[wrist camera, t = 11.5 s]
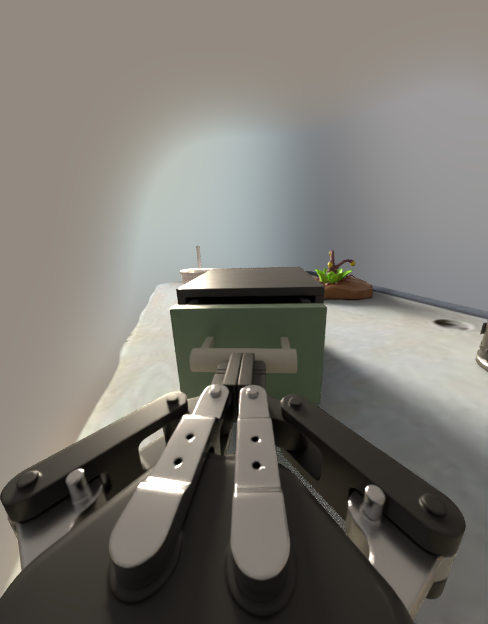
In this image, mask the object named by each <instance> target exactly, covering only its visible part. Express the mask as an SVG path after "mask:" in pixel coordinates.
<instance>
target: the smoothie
mask: <svg viewBox="0 0 488 624" xmlns="http://www.w3.org/2000/svg"><path fill="white" fill-rule="evenodd" d="M196 248H197V259H198V268H194V269H185V270H181V271H180V277H182V279H183V284H184V285H185V284H187V283H188V282H190V281H192V280H194V279H195V278H197V277H199V276H201V275H202V274H204V273H206V272H208V271H209V270H211V268H201V259H200V247H199V246H197V247H196Z"/></svg>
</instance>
